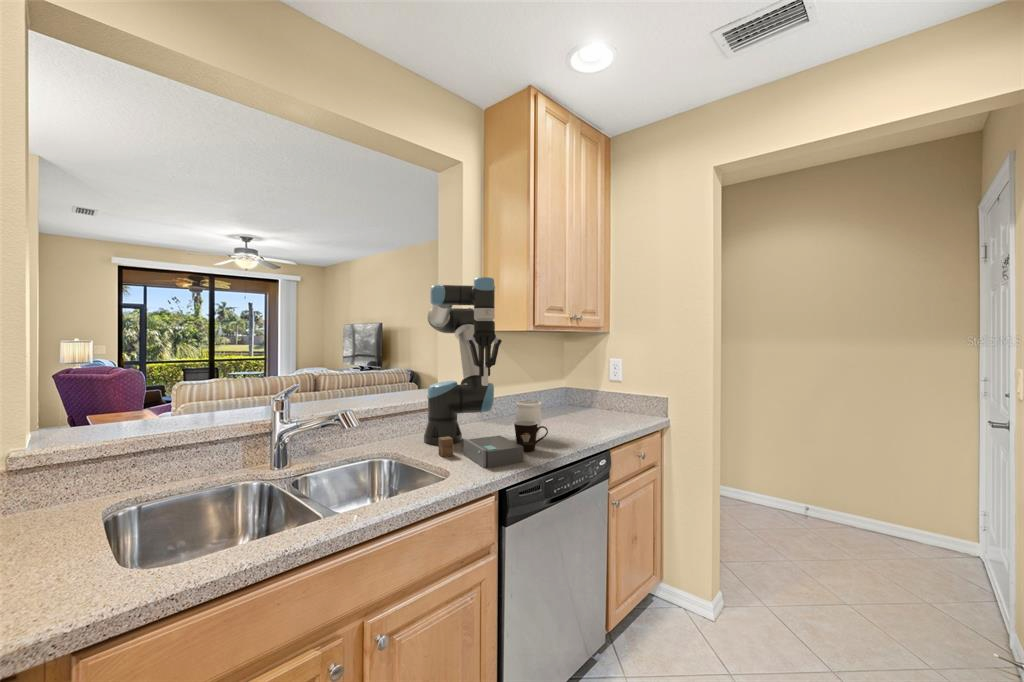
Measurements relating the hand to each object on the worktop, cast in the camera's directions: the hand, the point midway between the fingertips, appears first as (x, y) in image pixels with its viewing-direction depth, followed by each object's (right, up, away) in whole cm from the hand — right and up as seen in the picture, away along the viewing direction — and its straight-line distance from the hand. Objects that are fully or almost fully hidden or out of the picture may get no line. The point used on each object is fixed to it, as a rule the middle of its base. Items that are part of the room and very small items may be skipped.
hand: (484, 385), depth 163 cm
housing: (+4, -24, -9) cm, 26 cm away
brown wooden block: (-14, -24, -5) cm, 28 cm away
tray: (+2, -24, -9) cm, 26 cm away
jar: (+17, -24, +18) cm, 34 cm away
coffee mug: (+16, -24, +1) cm, 29 cm away
